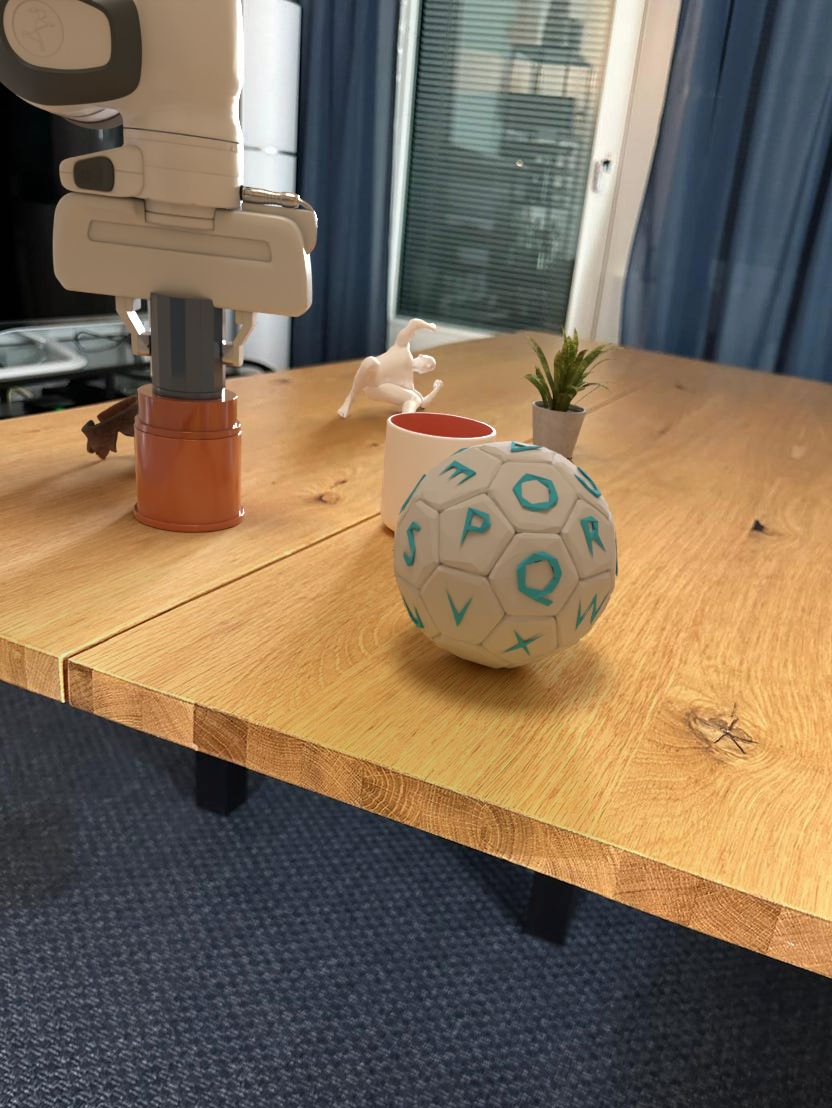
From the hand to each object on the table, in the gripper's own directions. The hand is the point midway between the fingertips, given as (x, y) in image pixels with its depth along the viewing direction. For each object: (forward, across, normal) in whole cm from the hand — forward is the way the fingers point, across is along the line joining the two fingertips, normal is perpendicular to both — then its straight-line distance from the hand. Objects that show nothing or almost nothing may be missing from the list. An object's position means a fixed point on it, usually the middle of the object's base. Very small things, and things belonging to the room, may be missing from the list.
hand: (188, 359), depth 78 cm
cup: (+14, -22, -3) cm, 26 cm away
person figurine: (+14, -15, -54) cm, 58 cm away
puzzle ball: (+14, -27, +23) cm, 38 cm away
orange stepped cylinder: (+14, 0, 0) cm, 14 cm away
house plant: (+14, -38, -38) cm, 55 cm away
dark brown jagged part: (+14, +8, -14) cm, 21 cm away
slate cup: (+3, 0, 0) cm, 3 cm away
